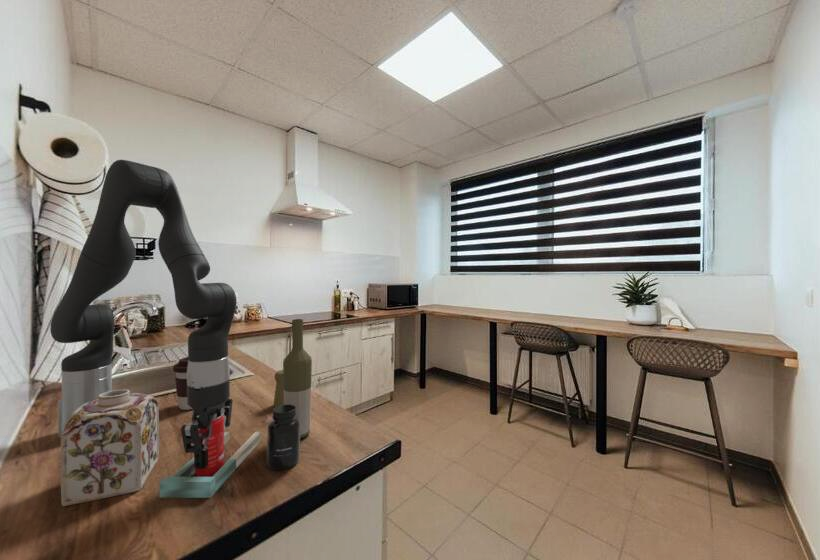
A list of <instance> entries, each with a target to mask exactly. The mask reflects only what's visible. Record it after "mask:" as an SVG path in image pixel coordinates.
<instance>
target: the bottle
mask: <svg viewBox="0 0 820 560" xmlns="http://www.w3.org/2000/svg"><path fill="white" fill-rule="evenodd" d="M291 326H292V327H291V328H292V335H291V336H292V337H291V339H292V340H291V341H292V342H291V343H292V344H291V345H292V348H291V351H289V353H288V354H287V355H286V357H285V358H284V359H283V364H282V366H283V367H282V370H283V381H284V405H293V406H295V407H296V418H298V419H299V421H300V439H302V438H305V437H307V436H308V435H309V434H310V431H311V424H312V423H311V421H312V420H311V417H312V365H313V364H312V363H313V362H312V361H313V358H312V357H311V355H310V354H309V353H308V352H307V351H306V350H305V349H304V319H302V318H297V319H295V318H294V319H292V320H291Z"/></svg>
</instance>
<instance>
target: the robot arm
mask: <svg viewBox="0 0 820 560" xmlns="http://www.w3.org/2000/svg"><path fill="white" fill-rule="evenodd" d="M130 206H137V207H143V208H149V209H150V208H151V209H156V210H157V211H158V212H159V213H160V215H161V217H162V218H163V226H162V228H161V231H160V233H159V237H158V244H157V245H158V250H159V254H160V256H161V259H162V260H163V262H164V264H165V265H166V267H167V269H168V271H169V274H171V279H172V284H173V292H174V301H175V305H176V308H177V310H178V311H179V312H180V314H181V315H183V316H184V317H185V318H188V319H190V320H198V319H200V320H201V319H206V318H207V319H206V322H205V324H204V325H203V326H201V327H200V328H197V329H195V330H193V331H192V332H190V333H189V335H188V338H187V357H188V367H187V404H188V406H190V407H191V408H192V409H191V410H193V411H192V416H191V421H190V422H189V423H188V424H183V425H182V426H181V428H180V433H181V434H180V435H181V437H182V442H183V449H184V452H185V454H189V453H190V454H193V458H194V466H195V468H196V469H204V468H206V467H207V465H208V449H207V446H208V440H209V437H211V436H212V423H213V422H214V421H215V419H216V417H217V415H222V416H223V417H224V433H225V432H227V429H226V428H229V427H230V426H231V421H232V419H231V418H232V412H233V411H232V409H233V398H230V396H231V392H230V391H231V390H230V389H231V386H230V385H231V384H230V383H231V381H230V379H231V378H230V377H231V376H230V373H231V372H230V371H231V370H230V369H231V368H230V361H229V339H228V338H229V334H230V331H231V327H232V324H233V320H234V317H235V313H236V308H237V302H238V301H237V296H236V293H235V290H234V289H233V287H232V286H231V285H230V284H228V283H225V282H208V283H207V282H205V283H201V282H200V281H202V280H203V279H205V278H207V276H208V275H209V274H210V272H211V266H210V263H209V261H208V260H207V257H206V256H205V254H204V252H203V249H201V246H200V245H199V243H198V242H197V240H196V238H195V236H194V234H193V232H192V231H193V230H192V228H191V227H190V224H189V221H188V217H187V214H186V212H185V211H186V210H185V207H184V204H183V202H182V199H181V196H180V192H179V190H178V187H177V185H176V183H175V180H174V179H173V177H172V176H171V174H170V173H169V172H167V171H166V170H165V169H162V168H160V167H155V166H150V165H147V164H144V163H141V162H135V161H131V160H127V159H117V160H115V161H114V162H112V163H111V165H110V166H109V168H108V170H107V172H106V174H105V177H104V181H103V185H102V188H101V193H100V197H99V202H98V206H97V209H96V213H95V217H94V219H93V222H92V225H91V228H90V231H89V233H88V236H87V238H86V241H85V243H84V244H83V247H82V249H81V252H80V254H79V257H78V259H77V263H76V266H75V269H74V272H73V275H72V278H71V280H70V283H69V285H68V287H67V289H66V291H65V292H64V295H63V296H62V298H61V300H60V301H59V303H58V305H57V306H56V309H55V311H54V313H53V316H52V317H51V320H50V321H51V322H50V328H49V329H50V334H51V337H52V339H53V340H54V341H56V342H57V343H60V344H74V343H80V342H87V341H89V342H88V344H86V346H85V347H84V348H82V349H80V350H78V351H76V352H73V353H71V354H70V355H68V356H65V357H64V358H63V359H62V360H61V365H60V367H61V398H60V399H58V401H57V420H58V421H57V424H58V426H57V429H58V430H57V431H58V433H57V434H58V436H57V437H58V438H61V435H60V434H61V433H62V431H63V430H64V427H65V425H66V423H67V422H68V420H69V417H70V416H71V414H72V413H73V412H74V411H75V410H76V409H77V408H79V407H80V406H82V405H83V404H85V403H88V402H91V401H94V400H96V399H98V396H99V395H100V394H102V393H105V392H109V391H113V388H112V387H113V385H112V383H113V379H112V377H113V376H112V375H113V372H112V371H113V370H112V365H113V364H112V358H113V357H112V356H113V353H114V334H115V315H114V312H113V311H114V310H112V308H111V307H110V306H109V305H107V304H103V303H102V304H99V303H98V304H92V303H93V302H94V301H95V300H96V299H98V298H99V297H101V296H103V295H104V294H106V293H107V292H108V291H109V292H110V290H112V289H113V288H115V287H117V285H119V284H120V283H121V282H123V280H125V279H126V278H127V276H128V275H129V273H130V271H131V268H132V266H133V264H134V261H135V259H136V255H137V250H136V247H135V244H134V241H133V239H132V237H131V235H130V234H129V231H128V230H127V226H126V224H125V219H126V213H127V211H128V209H129V207H130ZM207 427H208V428H207ZM200 429H207V432H206V433H205V434H199V431H200ZM200 438H203V442H202V444H201V441H200Z"/></svg>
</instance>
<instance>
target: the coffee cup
mask: <svg viewBox="0 0 820 560" xmlns="http://www.w3.org/2000/svg"><path fill="white" fill-rule="evenodd" d="M187 367H188V356H187V357H183V358H180V359H179V361H178V362H177V363H175V364H174V365H173V366H172V371H173V372H174V373H175V378H174V380H175V391H176V392H175V393H176V396H177V400H178V402H177V403H178V409H180V410H182V411H189V410H190V409H191V410H193V409H192V408H191V407H190V406H188V404H187ZM191 410H190V411H191Z"/></svg>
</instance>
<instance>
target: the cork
mask: <svg viewBox="0 0 820 560" xmlns="http://www.w3.org/2000/svg"><path fill="white" fill-rule="evenodd" d="M274 380H275V382H276V383H275V390H274V395H273V396H274V398H273V404H272V406H273V408H274V407H275V408H276V407H278V406H281V405H284V381H283V369H281V370H278V371H276V372H275V373H274Z"/></svg>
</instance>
